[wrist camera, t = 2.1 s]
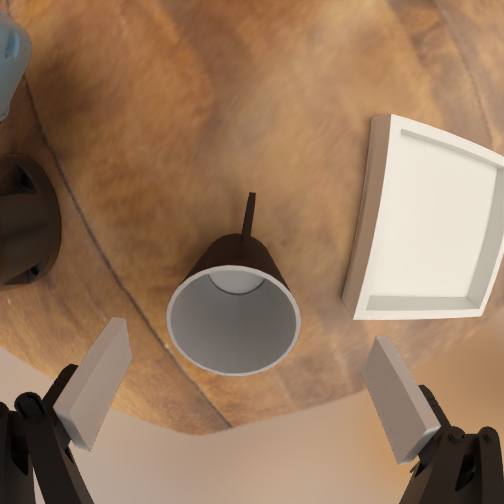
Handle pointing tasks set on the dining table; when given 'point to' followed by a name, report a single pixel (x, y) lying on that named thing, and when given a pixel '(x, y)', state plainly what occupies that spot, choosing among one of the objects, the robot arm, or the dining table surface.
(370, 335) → the dining table surface
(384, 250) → the white tray
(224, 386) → the dining table surface
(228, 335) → the coffee mug
